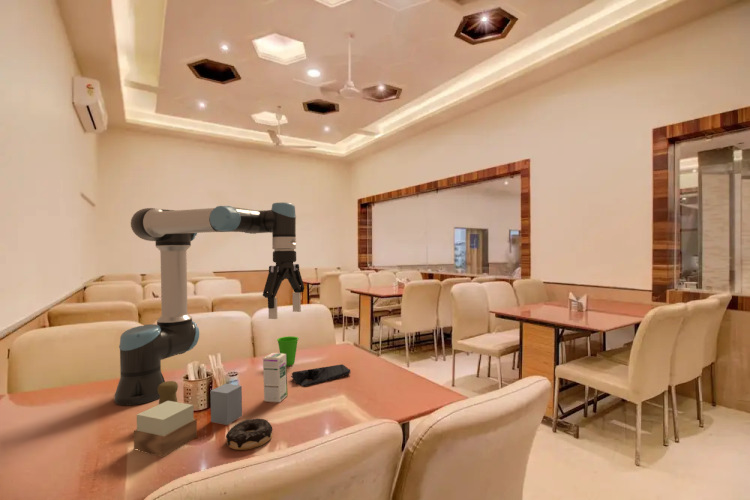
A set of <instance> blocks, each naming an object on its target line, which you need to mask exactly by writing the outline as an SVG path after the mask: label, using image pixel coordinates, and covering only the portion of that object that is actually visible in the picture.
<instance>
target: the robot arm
mask: <svg viewBox="0 0 750 500" xmlns="http://www.w3.org/2000/svg"><path fill="white" fill-rule="evenodd" d="M296 221H297V215H296V205H295V204H293V203H291V202H274V203H272V205H271V209H267V210H258V209H257V210H255V209H248V208H240V207H234V206H230V205H217V206H216V207H211V208H209V207H208V208H195V209H179V210H174V209H165V208H164V209H163V208H155V207H147V208H142V209H139V210H137V211H136V212H135V213H134V214H133V215H132V217H131V219H130V227H131V230H132V232H133V233H134V234H135V235H136V236H137V237H138V238H140V239H142V240H144V241H149V242H155V248H157V249H158V250H159V251H160V253H159V254H160V291H161V292H160V294H161V297H160V299H161V301H160V303H161V305H160V306H161V316H160V317H159V318H158V319H157V320H156V324H155V323H153V324H152V323H151V324H144V325H139V326H135V327H131V328H130V329H129V328H128V329H127V330H124V332H122V333H121V335H120V338H119V339H120V340H119V346H118V348H119V363H120V365H119V367H120V368H119V369H120V371H119V373H120V375H119V377H120V378H119V380H118V384H117V386H116V387H117V388H116V390H115V392H114V396H113V397H114V400H113V401H115V402H114V403H115V404H116V403H117V404H116V405H118V404H120V405H119V406H135V405H141V404H148V403H150V402H153V401H156V400H159V399H160V395H159V394H158V386H159V385H160V384H161V383H163V382H166V381H165V378H164V375H163V373H162V369H161V367H162V366H161V365H162V364H161V363H162V360H165V359H167V358H168V359H169V358H172V357H175V356H178V355H182V354H185V353H186V352H189V351H191V350H192V349H194V348H195V347H196V345H197V344H198V341H199V339H200V329H199V327H198V326H197V323H196V322H195V321H194V320H193V317H192V316H191V315H190V314H189V313H188V274H187V273H188V272H187V269H188V267H187V265H188V263H187V250H188V249H189V248H190V247H191V246H192V243H191V242H192V241H194V240H195V238H196V236H197V235H198V234H199V233H200V234H201V233H230V232H231V233H232V232H233V233H245V234H253V235H256V234H268V233H271V235H272V236H271V237H272V245H271V246H272V250H273V252H272V263H275V265H269V266H268V275H267V278H266V281H265V285H264V288H263V292H262V296H263V297H264V298H266V299H267V308H268V309H267V310H268V319H269V320H277V319H278V297H276V296H277V294H278V291H279V289H280V287H281V285H282V282H283V281H284V280H287V281H288V282H289V284H290V286H291V289H292V290H293V292H292V312H294V313H297V312H298V313H300V312H301V311H302V310H301V309H302V307H301V305H302V304H301V303H302V302H301V301H302V300H301V298H302V297H301V295H302V294H301V293H304V292H305V285H304V282H303V279H302V275H301V270H300V264H298V263H296V261H297V251H296V249H297V238H296V235H297V234H296V230H297V229H296V224H297V223H296Z"/></svg>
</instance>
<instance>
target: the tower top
mask: <svg viewBox="0 0 750 500" xmlns="http://www.w3.org/2000/svg"><path fill="white" fill-rule="evenodd" d="M194 419H195V418H194V404H190V403H185V402H184V403H183V402H179V401H177V402H173V401H166V402H164V403H162V404H159V403H158V404H157V405H155V406H153V407H151V408H147V409H146V410H144V411H142V412H139V413H137V414H136V429H137V431H141V432H146V433H150V434H155V435H160V436H165V435H167V434H169V433H171V432H173V431H174V430H176V429H178V428H180V427H182V426H184V425H185V424H187V423H189V422H191V421H193V420H194Z"/></svg>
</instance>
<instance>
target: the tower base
mask: <svg viewBox="0 0 750 500" xmlns="http://www.w3.org/2000/svg"><path fill="white" fill-rule="evenodd" d="M197 422H198V421H197V418H194V420H193V421H191V422H189V423H187V424H185V425H184V426H182V427H180V428H178V429H176V430H174V431H173V432H171V433H169V434H167V435H165V436H160V435H155V434H150V433H146V432H141V431H137V428H136V429H135V430H133V449H138V450H140V451H139V452H141V451H143V453H145V452H146V453H145V454H151V455H153V456H158V457H162V458H164V457H166V456H168V455H170V454H171V453H173V452H174V451H176V450H178V449H179V448H181V447H182V446H184V445H186V444H188V443H190V442H191V441H192V440H194V439H196V438H197V437H198V429H197V427H198V426H197Z"/></svg>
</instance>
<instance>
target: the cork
mask: <svg viewBox="0 0 750 500" xmlns="http://www.w3.org/2000/svg"><path fill="white" fill-rule="evenodd" d="M178 388H179V385H178V383H177V382H176V381H174V380H166V381H165V382H163V383H161V384H160V385H159V386H158V394H159V395H160V398H159V399H158V400H159V401H158V405H159V404H162V403H164V402H166V401H173V402H178V396H177V391H178Z"/></svg>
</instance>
